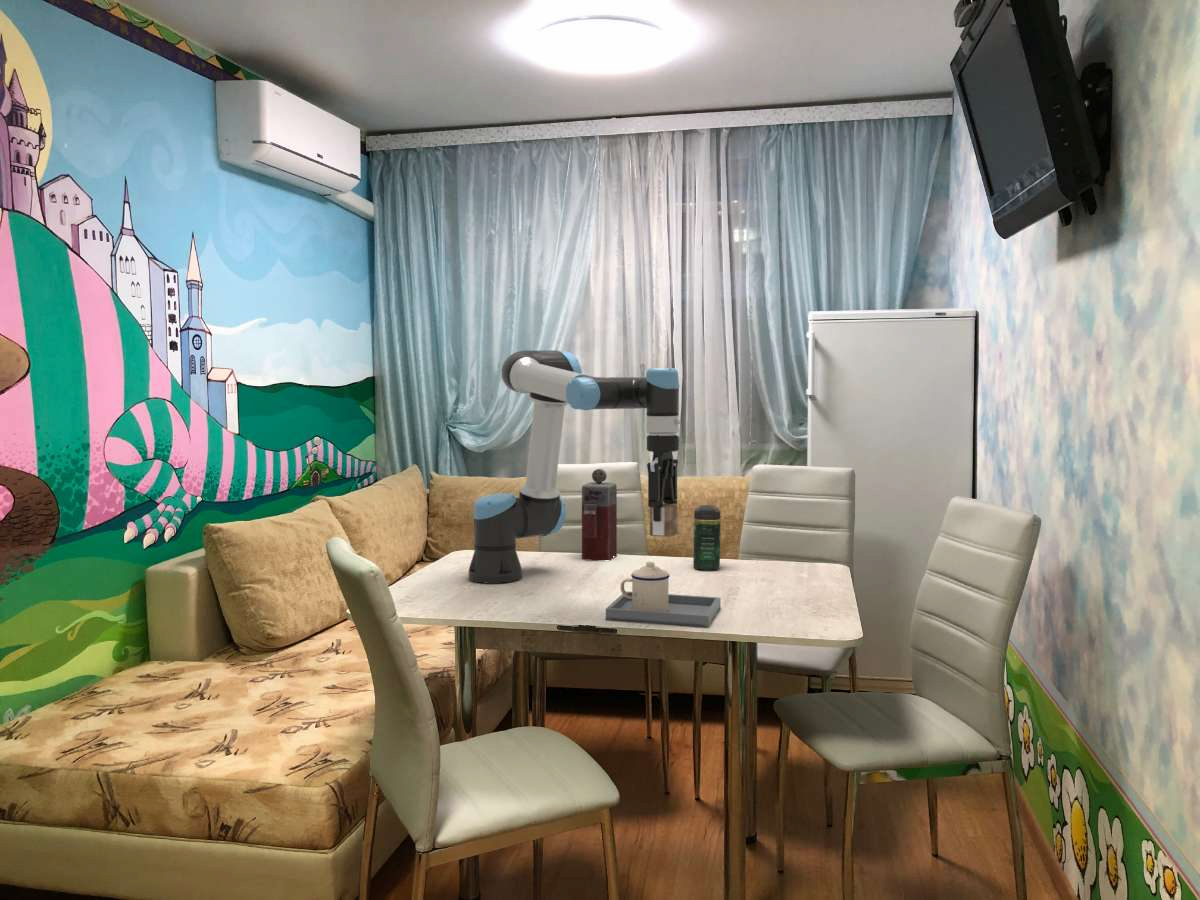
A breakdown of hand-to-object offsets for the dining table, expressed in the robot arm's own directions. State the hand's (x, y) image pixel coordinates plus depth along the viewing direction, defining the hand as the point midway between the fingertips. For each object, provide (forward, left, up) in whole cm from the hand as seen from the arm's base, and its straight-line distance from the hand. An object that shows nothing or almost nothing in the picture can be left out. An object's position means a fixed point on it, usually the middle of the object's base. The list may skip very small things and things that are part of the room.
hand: (663, 533), depth 209 cm
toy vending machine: (-34, +61, -20) cm, 73 cm away
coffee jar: (+1, +56, -20) cm, 60 cm away
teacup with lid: (-5, +1, -19) cm, 20 cm away
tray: (0, +1, -20) cm, 20 cm away
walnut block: (0, 0, 0) cm, 0 cm away
